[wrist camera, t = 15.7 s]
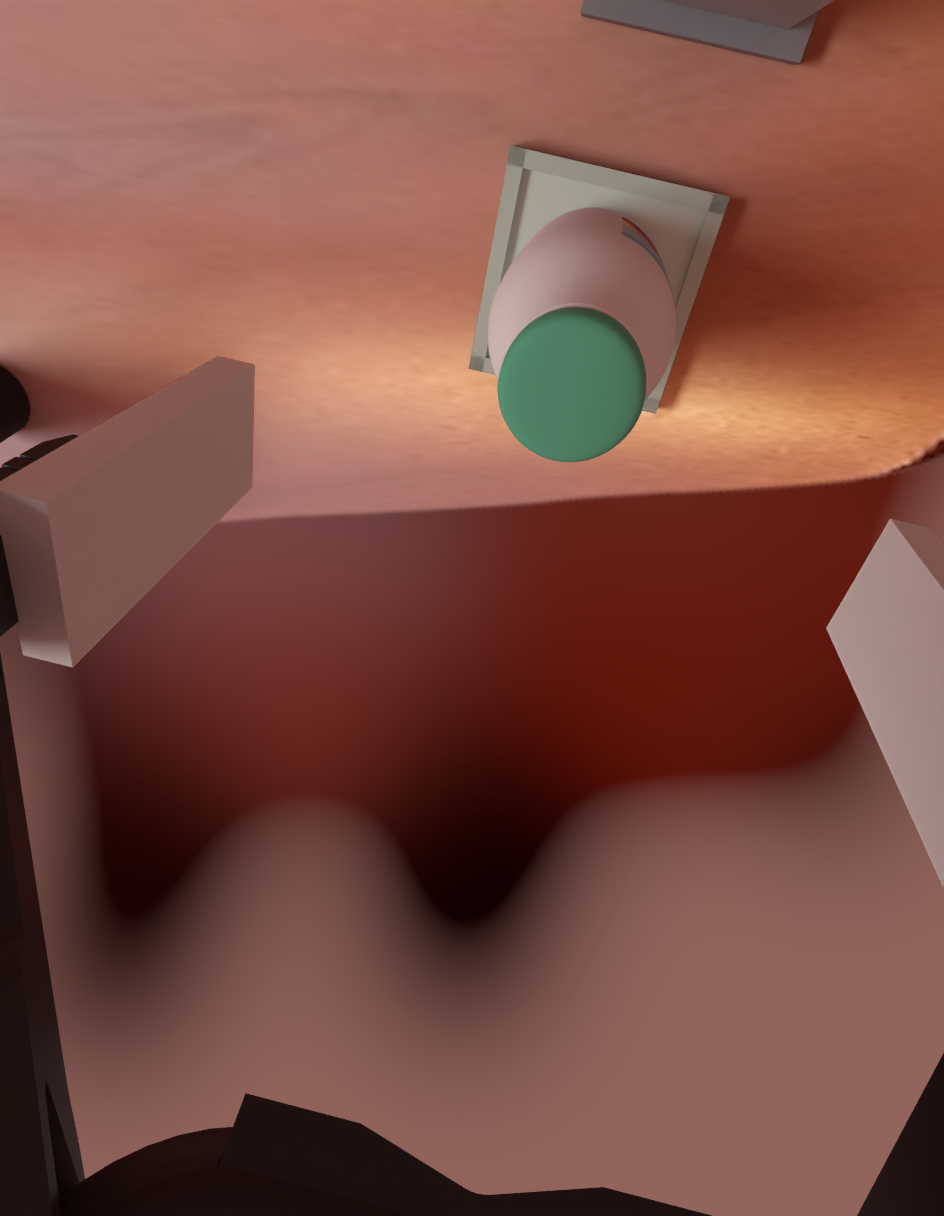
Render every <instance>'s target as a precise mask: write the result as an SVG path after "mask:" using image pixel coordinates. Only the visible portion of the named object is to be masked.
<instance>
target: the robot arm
mask: <svg viewBox="0 0 944 1216" xmlns="http://www.w3.org/2000/svg"><path fill="white" fill-rule="evenodd" d="M254 373H255V365H253V364H249V363H245V362H241V361H237V360H233V359H229V358H224V357H220V356H217V357H216V358H214V359H212V360H210V361H209V362H207V363H205V364H203V365H202V366H200V367H198V368H197V369H195V370H193V371H191V372H190V373H188V374H186V375H184V376H183V377H181V378H179V379H177V380H176V381H174V382H172V383H170V384H169V385H167V386H165V387H163V388H162V389H160V390H158V391H156V392H155V393H153V394H151V395H150V396H148V397H146V398H144V399H143V400H141V401H139V402H137V403H136V404H134V405H132V406H130V407H129V408H127V409H125V410H123V411H122V412H120V413H118V414H116V415H115V416H113V417H111V418H110V419H108V420H106V421H104V422H103V423H101V424H99V425H97V426H96V427H94V428H92V429H90V430H89V431H87V432H85V433H83V434H82V435H80V436H77V435H69V436H65V437H61V438H57V439H53V440H49V441H45V442H42V443H40V444H38V445H36V446H35V447H33V448H31V449H29V450H27V451H26V452H24V453H22V454H20V458H19V457H15V458H13V459H11V460H9V461H7V462H5V463H4V464H2V468H0V636H2V635H3V634H4V633H5V632H6V631H7V630H9V629H10V628H11V627H12V626H14V625H15V624H16V623H17V628H18V633H19V638H20V643H21V647H22V652H23V655H25V656H30V657H33V658H37V659H41V660H45V661H49V662H53V663H57V664H61V665H65V666H69V667H73V666H74V665H75V664H76V663H77V662H78V661H79V660H80V659H81V658H82V657H83V656H84V655H85V654H86V653H87V652H88V651H89V650H90V649H91V648H92V647H93V646H94V645H95V644H96V643H97V642H98V641H99V640H100V639H101V638H102V637H103V636H104V635H105V634H106V633H107V632H108V631H109V630H110V629H111V628H112V627H113V626H114V625H115V624H116V623H117V622H118V621H119V620H120V619H121V618H122V617H123V616H124V615H125V614H126V613H127V612H128V611H129V610H130V609H131V608H132V607H133V606H134V605H135V604H136V603H137V602H138V601H139V600H140V599H141V598H142V597H143V596H144V595H145V594H146V593H147V592H148V591H149V590H150V589H151V588H152V587H153V586H154V585H155V584H156V583H157V582H158V581H159V580H160V579H161V578H162V577H163V576H164V575H165V574H166V573H167V572H168V571H169V570H170V569H171V568H172V567H173V566H174V565H175V564H176V563H177V562H178V561H179V560H180V559H181V558H182V557H183V556H184V555H185V554H186V553H187V552H188V551H189V550H190V549H191V548H192V547H193V546H194V545H195V544H196V543H197V542H198V541H199V540H200V539H201V538H202V537H203V536H204V535H205V534H206V533H207V532H208V531H209V530H210V529H211V528H212V527H213V526H214V525H215V524H216V523H217V522H218V521H219V520H220V519H221V518H222V517H223V516H224V515H225V514H226V513H227V512H228V511H229V510H230V509H231V508H232V507H233V506H234V505H235V504H236V503H237V502H238V501H239V500H240V499H241V498H242V497H243V496H244V495H245V494H246V493H247V492H248V491H249V490H250V489H251V488H252V472H253V423H254ZM827 631H828V633H829V635H830V637H831V640H832V642H833V644H834V646H835V648H836V651H837V653H838V655H839V657H840V660H841V662H842V664H843V666H844V668H845V671H846V673H847V675H848V677H849V680H850V682H851V684H852V686H853V688H854V691H855V693H856V695H857V697H858V699H859V701H860V704H861V706H862V708H863V711H864V713H865V715H866V717H867V719H868V722H869V724H870V726H871V728H872V730H873V733H874V735H875V737H876V739H877V742H878V744H879V746H880V748H881V750H882V753H883V755H884V757H885V759H886V762H887V764H888V766H889V768H890V770H891V773H892V775H893V777H894V779H895V781H896V783H897V786H898V788H899V790H900V793H901V795H902V797H903V799H904V801H905V804H906V806H907V808H908V810H909V812H910V815H911V817H912V819H913V821H914V823H915V826H916V828H917V830H918V832H919V835H920V837H921V839H922V841H923V844H924V846H925V848H926V850H927V852H928V855H929V857H930V859H931V861H932V863H933V866H934V868H935V870H936V872H937V875H938V877H939V879H940V881H941V883H942V886H943V887H944V547H943V545H942V544H941V543H940V542H939V540H938V539H937V538H936V537H935V536H934V534H933V533H932V532H931V531H930V530H929V528H926V527H922V526H918V525H914V524H909V523H905V522H902V521H898V520H894V519H890V520H889V522H888V524H887V525H886V527H885V529H884V530H883V532H882V534H881V536H880V537H879V539H878V541H877V542H876V544H875V546H874V547H873V549H872V551H871V553H870V554H869V556H868V558H867V559H866V561H865V563H864V565H863V566H862V568H861V570H860V571H859V573H858V575H857V577H856V578H855V580H854V582H853V583H852V585H851V587H850V589H849V590H848V592H847V594H846V595H845V597H844V599H843V600H842V602H841V604H840V606H839V608H838V609H837V611H836V612H835V614H834V616H833V618H832V619H831V621H830V623H829V624H828V626H827ZM0 1216H711V1215H707V1214H703V1213H700V1212H695V1211H692V1210H687V1209H684V1208H681V1207H677V1206H673V1205H669V1204H665V1203H661V1202H658V1201H654V1200H650V1199H646V1198H642V1197H639V1196H635V1195H631V1194H627V1193H623V1192H619V1191H615V1190H612V1189H608V1188H604V1187H601V1188H586V1189H572V1190H556V1191H541V1192H528V1193H513V1194H497V1195H482V1194H477V1193H474V1192H471V1191H469V1190H467V1189H465V1188H463V1187H462V1186H460V1185H459V1184H457V1183H455V1182H454V1181H452V1180H451V1179H449V1178H447V1177H446V1176H444V1175H442V1174H441V1173H439V1172H438V1171H436V1170H435V1169H433V1168H431V1167H430V1166H428V1165H426V1164H425V1163H423V1162H422V1161H420V1160H418V1159H417V1158H415V1157H413V1156H412V1155H410V1154H409V1153H407V1152H406V1151H404V1150H402V1149H401V1148H399V1147H398V1146H396V1145H394V1144H393V1143H391V1142H389V1141H388V1140H386V1139H385V1138H383V1137H381V1136H380V1135H378V1134H377V1133H375V1132H373V1131H372V1130H370V1129H369V1128H367V1127H365V1126H364V1125H362V1124H360V1123H356V1122H353V1121H349V1120H345V1119H341V1118H337V1117H334V1116H330V1115H326V1114H322V1113H318V1112H315V1111H311V1110H307V1109H303V1108H299V1107H296V1106H292V1105H288V1104H284V1103H280V1102H276V1101H273V1100H269V1099H265V1098H261V1097H258V1096H254V1095H250V1094H245V1096H244V1099H243V1102H242V1105H241V1107H240V1110H239V1113H238V1115H237V1118H236V1121H235V1123H234V1126H233V1127H226V1128H214V1129H207V1130H202V1131H197V1132H192V1133H187V1134H182V1135H178V1136H175V1137H172V1138H169V1139H166V1140H163V1141H160V1142H157V1143H155V1144H152V1145H148V1146H146V1147H144V1148H142V1149H140V1150H138V1151H135V1152H133V1153H131V1154H129V1155H127V1156H125V1157H123V1158H121V1159H119V1160H116V1161H114V1162H112V1163H111V1164H109V1165H108V1166H106V1167H104V1168H103V1169H101V1170H99V1171H98V1172H96V1173H95V1174H93V1175H91V1176H90V1177H88V1178H87V1179H85V1176H84V1170H83V1164H82V1158H81V1153H80V1148H79V1142H78V1137H77V1132H76V1127H75V1122H74V1117H73V1112H72V1108H71V1103H70V1097H69V1092H68V1086H67V1080H66V1075H65V1067H64V1061H63V1055H62V1049H61V1042H60V1035H59V1029H58V1022H57V1016H56V1009H55V1003H54V996H53V990H52V983H51V977H50V971H49V964H48V957H47V951H46V944H45V938H44V931H43V925H42V918H41V912H40V906H39V899H38V892H37V886H36V880H35V873H34V867H33V861H32V854H31V847H30V841H29V834H28V828H27V821H26V815H25V808H24V803H23V796H22V790H21V782H20V776H19V770H18V763H17V756H16V750H15V743H14V737H13V731H12V724H11V717H10V711H9V705H8V698H7V692H6V685H5V679H4V672H3V666H2V659H1V655H0ZM857 1216H944V1053H943V1055H942V1057H941V1059H940V1061H939V1063H938V1065H937V1067H936V1069H935V1070H934V1072H933V1074H932V1076H931V1078H930V1080H929V1082H928V1083H927V1085H926V1087H925V1089H924V1091H923V1093H922V1095H921V1097H920V1098H919V1100H918V1102H917V1104H916V1106H915V1108H914V1110H913V1112H912V1113H911V1115H910V1117H909V1119H908V1121H907V1123H906V1125H905V1127H904V1129H903V1131H902V1132H901V1134H900V1136H899V1138H898V1140H897V1142H896V1144H895V1145H894V1148H893V1149H892V1151H891V1153H890V1155H889V1157H888V1159H887V1161H886V1162H885V1164H884V1166H883V1168H882V1170H881V1172H880V1174H879V1175H878V1177H877V1179H876V1181H875V1183H874V1185H873V1187H872V1189H871V1191H870V1193H869V1195H868V1196H867V1198H866V1200H865V1202H864V1204H863V1206H862V1207H861V1210H860V1211H859V1213H858V1215H857Z"/></svg>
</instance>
